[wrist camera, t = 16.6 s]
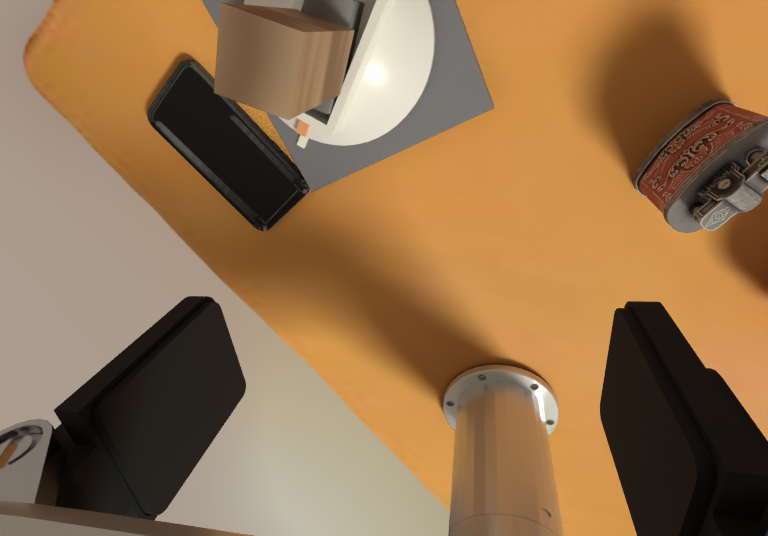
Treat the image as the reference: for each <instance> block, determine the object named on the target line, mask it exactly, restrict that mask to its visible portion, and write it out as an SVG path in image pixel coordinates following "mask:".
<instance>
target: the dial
mask: <svg viewBox="0 0 768 536" xmlns="http://www.w3.org/2000/svg"><path fill="white" fill-rule="evenodd" d="M304 1H305V0H244V5H256V6H267V7H278V8H290V9H297V10H299V11H302V12H303V7H304ZM358 1H361V2H364V8H363V12H362V16H361V21H360V25H359V29H358V34H357V38H356V42H355V47H354V51H353V55H352V60H351V64H350V68H349V70H348V73H347V75H346V78H345V80H344V83H343V85H342V88H341V93H340V95H339V96H338V98H337V100H336V103H335V105H334V108H333V110H332V112H331V113H330V114H326V113H323V112H320V111H318V110H315V109H310V110H308V111H306V112H304V113H302V114H300V115H298V116H296V117H294V118H292V119H290V120H287V119H284V118H281V117H279V118H280V119H281V120H282V121H283V122H285V123H286V124H287V125H288V126H289V127H291V128H292V129H294V130H295V131H296V132H297V133H298V134H300V135H302V136H304V137H305V136H306V137H308V138H310V139H312V140H315V141H318V142H321V143H325V144H331V145H342V146H347V145H357V144H361V143H365V142H369V141H371V140H374V139H376V138H379V137H380V136H382V135H384V134H386V133H387V132H389V131H390V130H391V129H393V128H394V127H395V126H397V125H398V124H399V123H400V122H401V121H402V120H403V119H404V118H405V117H406V116H407V115H408V113H409V112H410V111H411V110H412V108H413V107H414V106H415V104H416V103H417V102H418V100H419V98H420V97H421V95H422V93H423V91H424V89H425V87H426V85H427V82H428V80H429V77H430V73H431V70H432V67H433V61H434V55H435V42H436V36H435V22H434V17H433V11H432V7H431V4H430V1H429V0H358Z"/></svg>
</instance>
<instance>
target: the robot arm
mask: <svg viewBox="0 0 768 536" xmlns="http://www.w3.org/2000/svg"><path fill="white" fill-rule="evenodd" d="M245 389H246V382H245V379H244V376H243V373H242V370H241V367H240V364H239V361H238V358H237V355H236V352H235V349H234V346H233V343H232V340H231V337H230V334H229V331H228V328H227V325H226V322H225V319H224V316H223V313H222V310H221V307H220V305H219V304H218V303H216V302H215V301H214V300H213V299H212V298H211V297H203V296H201V297H200V296H199V297H197V296H190V297H186V298H185V299H183V300H182V301H181V302H180V303H179V304H177V305H176V306H175V307H174V308H173V309H172V310H170V311H169V312H168V313H167V314H166V315H165V316H164V317H162V318H161V319H160V320H159V321H158V322H157V323H155V324H154V325H153V326H152V327H151V328H149V329H148V330H147V331H146V332H145V333H144V334H142V335H141V336H140V337H139V338H138V339H136V340H135V341H134V342H133V343H132V344H131V345H129V346H128V347H127V348H126V349H125V350H124V351H122V352H121V353H120V354H119V355H118V356H117V357H115V358H114V359H113V360H112V361H111V362H110V363H108V364H107V365H106V366H105V367H104V368H102V369H101V370H100V371H99V372H98V373H97V374H96V375H94V376H93V377H92V378H91V379H90V380H89V381H87V382H86V383H85V384H84V385H83V386H82V387H80V388H79V389H78V390H77V391H76V392H75V393H73V394H72V395H71V396H70V397H69V398H67V399H66V400H65V401H64V402H63V403H62V404H60V405H59V406H58V407H57V408H56V409H55V410H54V412H55V413H56V415H57V416H58V418H59V420H60V421H61V423H62V424H61V425H60V426H58V427H57V428H56V429H54V427H53V426H52V424H51V423H49V421H47V420H42V419H36V420H28V421H25V422H22V423H18V424H15V425H13V426H11V427H9V428H6V429H4V430H2V431H1V432H0V536H252V535H245V534H239V533H233V532H226V531H219V530H214V529H207V528H201V527H194V526H187V525H181V524H174V523H167V522H161V521H154V520H155V518H156V517H157V515H159V514H161V513H163V512H164V511H165V510H166V509H167V507H168V506H169V504H170V503H171V501H172V500H173V498H174V497H175V496H176V494H177V493H178V491H179V490H180V488H181V487H182V485H183V483H184V482H185V481H186V479H187V478H188V476H189V475H190V473H191V472H192V470H193V469H194V468H195V466H196V465H197V463H198V462H199V460H200V459H201V457H202V456H203V454H204V453H205V451H206V450H207V448H208V447H209V446H210V444H211V443H212V441H213V439H214V438H215V437H216V435H217V434H218V432H219V431H220V429H221V428H222V426H223V425H224V423H225V422H226V420H227V419H228V418H229V416H230V415H231V413H232V412H233V410H234V409H235V407H236V406H237V404H238V403H239V401H240V400H241V398H242V397H243V395H244V393H245ZM443 411H444V414H445V418H446V420H447V421H448V423H449V425H450V426H451V427H452V428H453V430H454V431H455V442H454V457H453V473H452V489H451V504H450V520H449V535H448V536H564V531H563V525H562V519H561V513H560V506H559V500H558V494H557V488H556V482H555V476H554V470H553V463H552V457H551V451H550V445H549V439H548V435H549V434H551V433H552V431H553V430H554V428H555V427H556V425H557V422H558V419H559V407H558V402H557V399H556V396H555V394H554V392H553V390H552V389H551V388H550V386H549V385H548V384H547V383H546V382H545V381H543V380H542V379H541V378H540V377H538V376H536V375H535V374H533V373H531V372H529V371H526V370H524V369H522V368H517V367H513V366H508V365H485V366H480V367H475V368H473V369H470V370H467V371H465V372H463V373H462V374H460V375H458V376H457V377H456V378H455V379H454V380H453V381H452V382H451V383H450V384H449V386H448V387H447V389H446V392H445V395H444V402H443ZM600 416H601V421H602V425H603V428H604V431H605V434H606V437H607V441H608V444H609V447H610V450H611V453H612V456H613V460H614V463H615V466H616V469H617V472H618V476H619V479H620V482H621V485H622V488H623V492H624V495H625V498H626V501H627V504H628V508H629V511H630V514H631V517H632V520H633V524H634V527H635V530H636V533H637V536H768V441H767V440H766V438H765V437H764V435H763V434H762V433H761V431H760V430H759V428H758V427H757V426H756V424H755V423H754V421H753V420H752V419H751V417H750V416H749V414H748V413H747V412H746V410H745V409H744V407H743V406H742V405H741V403H740V402H739V400H738V399H737V398H736V396H735V395H734V393H733V392H732V391H731V389H730V388H729V386H728V385H727V384H726V382H725V381H724V379H723V378H722V377H721V376H720V375H719V374H718V372H717V371H715V370H713V369H711V368H705V366H704V365H703V363H702V362H701V360H700V359H699V358H698V356H697V355H696V353H695V352H694V350H693V349H692V347H691V346H690V344H689V343H688V341H687V340H686V339H685V337H684V336H683V334H682V333H681V331H680V330H679V328H678V327H677V325H676V324H675V323H674V321H673V320H672V318H671V317H670V315H669V314H668V312H667V311H666V309H665V308H664V306H663V305H662V304H661V303H660V302H631V301H628V302H627V303H626V305H625V307H624V308H617V309H616V311H615V314H614V319H613V326H612V332H611V338H610V345H609V351H608V357H607V364H606V370H605V377H604V383H603V389H602V396H601V402H600Z"/></svg>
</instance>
